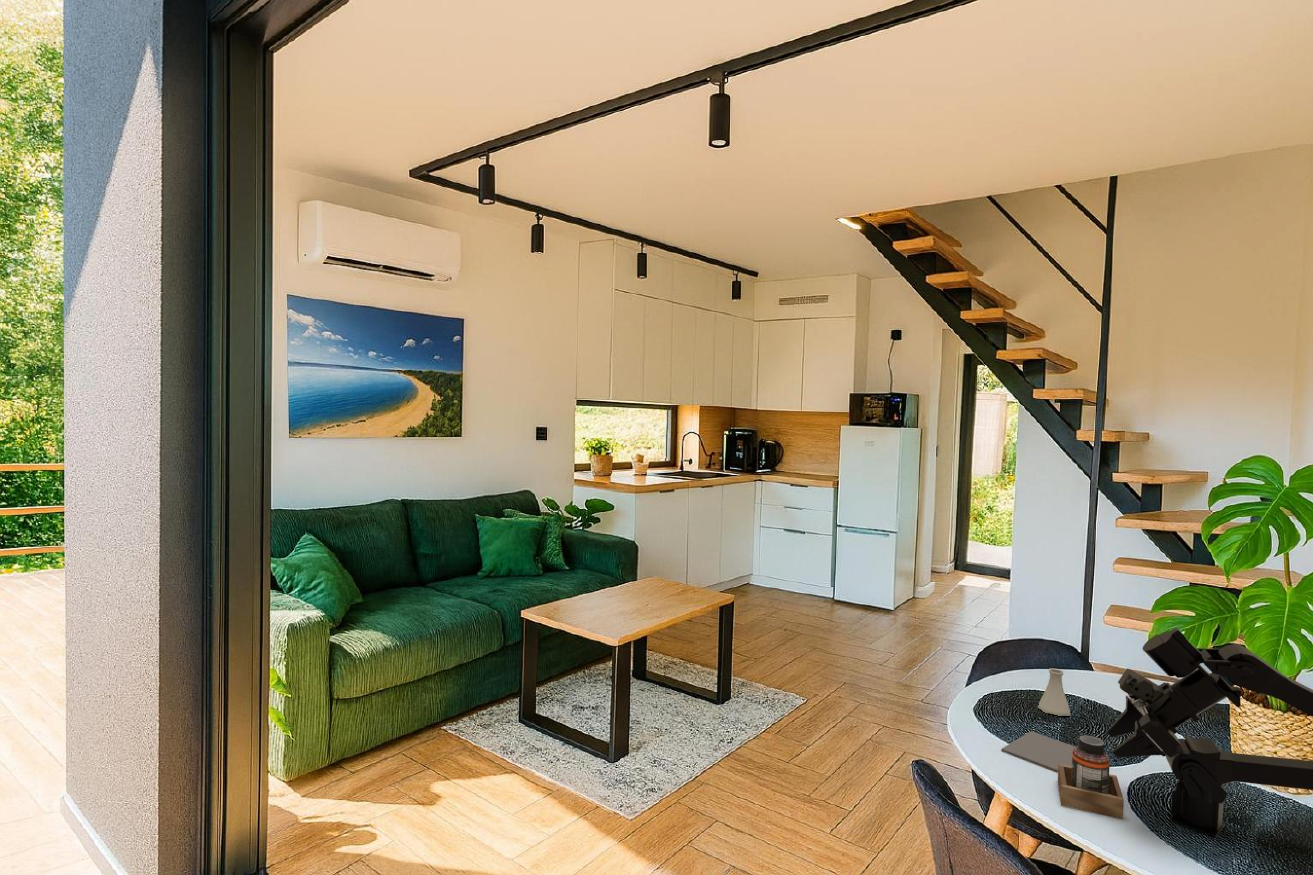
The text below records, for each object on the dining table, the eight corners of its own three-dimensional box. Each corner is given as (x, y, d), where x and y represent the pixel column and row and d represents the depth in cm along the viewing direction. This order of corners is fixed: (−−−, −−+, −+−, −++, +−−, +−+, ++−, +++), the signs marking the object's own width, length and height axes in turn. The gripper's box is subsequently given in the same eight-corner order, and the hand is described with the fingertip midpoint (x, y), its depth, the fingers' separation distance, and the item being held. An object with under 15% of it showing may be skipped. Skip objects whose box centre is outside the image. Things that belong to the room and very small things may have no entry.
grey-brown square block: (1100, 757, 152) (1100, 755, 152) (1072, 778, 143) (1073, 775, 143) (1030, 733, 163) (1031, 731, 163) (1001, 750, 154) (1001, 748, 154)
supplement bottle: (1073, 787, 140) (1076, 729, 139) (1109, 798, 136) (1113, 739, 135) (1067, 800, 135) (1070, 740, 134) (1104, 812, 131) (1108, 750, 131)
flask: (1075, 719, 171) (1078, 677, 170) (1042, 716, 172) (1044, 674, 172) (1065, 707, 178) (1067, 666, 178) (1033, 704, 179) (1035, 663, 179)
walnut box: (1115, 793, 138) (1116, 775, 138) (1122, 819, 129) (1124, 799, 129) (1057, 781, 142) (1058, 763, 142) (1060, 805, 133) (1061, 786, 133)
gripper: (1143, 644, 139) (1073, 690, 144) (1161, 675, 122) (1081, 726, 128) (1191, 693, 136) (1118, 738, 141) (1216, 732, 119) (1132, 781, 125)
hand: (1111, 744), depth 134 cm, fingers open, 9 cm apart
